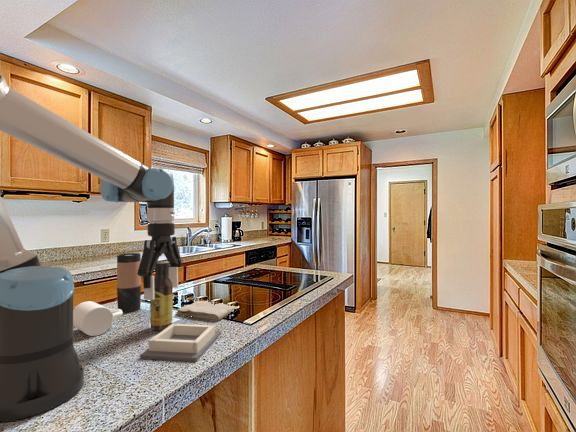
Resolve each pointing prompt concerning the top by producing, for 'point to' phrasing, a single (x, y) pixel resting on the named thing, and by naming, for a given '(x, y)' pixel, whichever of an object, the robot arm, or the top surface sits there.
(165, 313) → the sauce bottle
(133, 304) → the travel mug
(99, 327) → the mug
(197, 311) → the washcloth
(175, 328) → the socket plate
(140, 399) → the top surface
